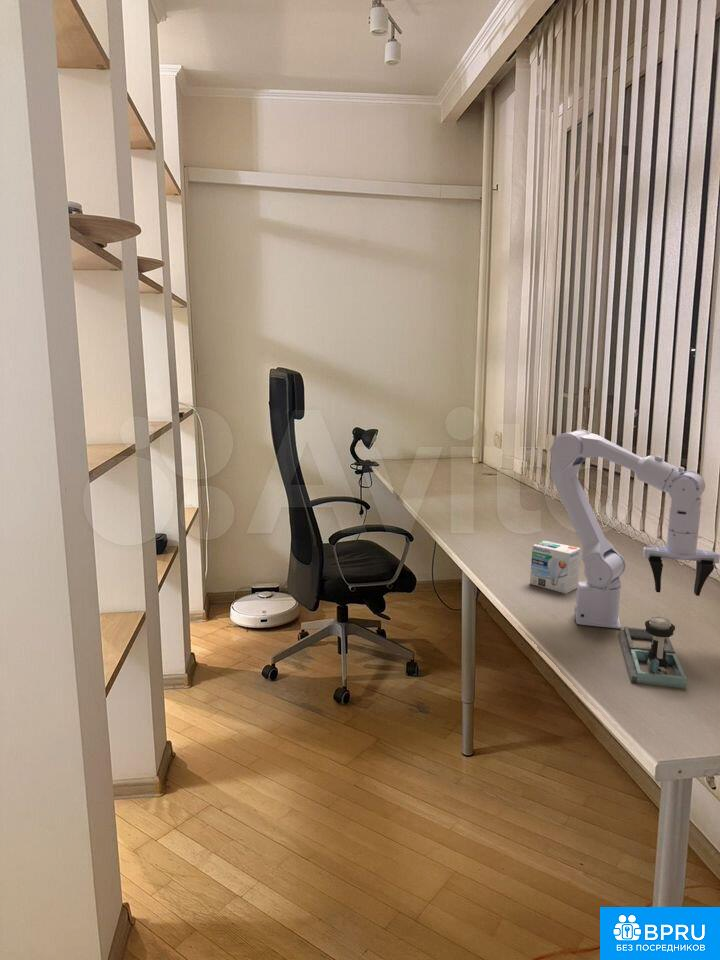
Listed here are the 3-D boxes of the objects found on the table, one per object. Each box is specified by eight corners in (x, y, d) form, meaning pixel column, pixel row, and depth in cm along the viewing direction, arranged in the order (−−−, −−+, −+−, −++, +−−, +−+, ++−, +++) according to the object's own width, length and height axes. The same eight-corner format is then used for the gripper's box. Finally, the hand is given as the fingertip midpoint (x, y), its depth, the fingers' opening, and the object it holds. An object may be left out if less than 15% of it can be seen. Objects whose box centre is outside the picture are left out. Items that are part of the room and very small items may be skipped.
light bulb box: (528, 584, 183) (531, 544, 181) (541, 578, 188) (544, 539, 186) (566, 594, 176) (569, 553, 174) (578, 587, 181) (581, 547, 179)
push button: (677, 679, 131) (682, 629, 130) (648, 677, 132) (653, 627, 130) (664, 663, 138) (669, 615, 136) (637, 662, 138) (641, 614, 136)
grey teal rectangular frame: (631, 682, 130) (631, 672, 129) (618, 635, 151) (619, 626, 151) (685, 688, 128) (686, 678, 127) (665, 640, 149) (666, 631, 149)
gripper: (648, 532, 143) (643, 595, 146) (726, 537, 140) (719, 602, 142) (643, 524, 150) (638, 584, 152) (717, 529, 146) (711, 590, 149)
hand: (677, 592), depth 148 cm, fingers open, 7 cm apart
